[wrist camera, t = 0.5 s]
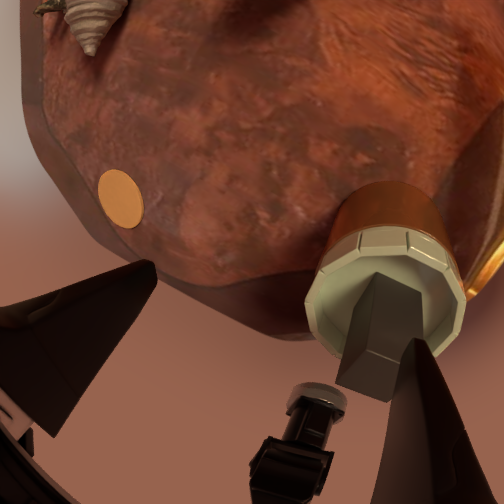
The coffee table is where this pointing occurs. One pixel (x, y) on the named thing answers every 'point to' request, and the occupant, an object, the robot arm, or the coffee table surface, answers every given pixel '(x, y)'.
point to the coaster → (121, 198)
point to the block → (380, 337)
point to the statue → (50, 7)
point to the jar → (386, 263)
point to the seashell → (92, 20)
